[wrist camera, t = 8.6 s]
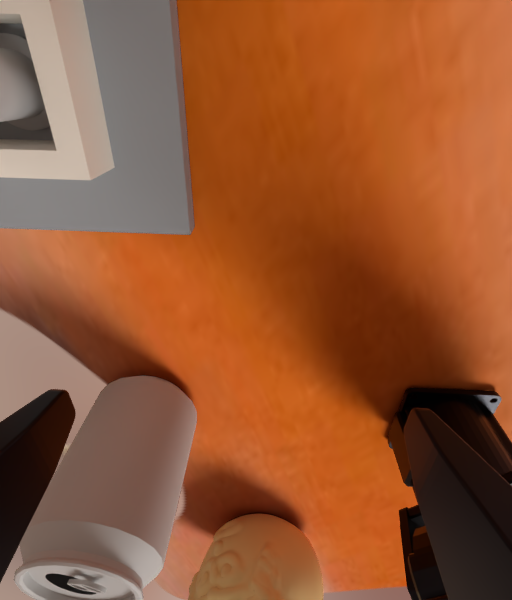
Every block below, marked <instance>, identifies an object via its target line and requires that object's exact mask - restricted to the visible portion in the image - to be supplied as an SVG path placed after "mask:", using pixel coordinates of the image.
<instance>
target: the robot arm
mask: <svg viewBox="0 0 512 600" xmlns="http://www.w3.org/2000/svg"><path fill="white" fill-rule="evenodd" d="M413 394H414V395H413ZM500 402H501V397H500V396H499V394H498V393H497V392H494V391H475V390H455V389H434V388H409V389H407V390H406V391H405V393H404V396H403V399H402V402H401V405H400V407H399V410H398V412H397V413H396V414H395V416H394V419H393V422H392V425H391V428H390V431H389V434H388V435H389V438H388V444H389V447H390V448H392V449H393V451H394V454H395V457H396V460H397V463H398V466H399V469H400V473H401V476H402V479H403V482H404V483H405V484H406V486H409V487H413V490H414V493H415V496H416V499H417V502H418V505H416V506H414V507H411V508H407V507H406V508H403V509H401V510H399V516H400V529H401V538H402V546H403V555H404V564H405V573H406V581H407V588H408V591H409V593H410V595H411V599H412V600H512V443H511V441H510V439H509V438H508V436H507V435H506V433H505V432H504V430H503V429H502V427H501V426H500V424H499V423H498V421H497V420H496V418H495V417H494V415H493V414H494V412H495V410H496V409H497V407H498V405H499V403H500ZM74 419H75V409H74V406H73V404H72V401H71V398H70V396H69V393H68V392H67V391H66V390H58V389H51V390H48V391H47V392H45V393H44V394H42V395H40V396H39V397H38V398H36V399H35V400H33V401H31V402H30V403H29V404H27V405H25V406H24V407H22V408H21V409H19V410H18V411H16V412H15V413H14V414H12V415H10V416H9V417H7V418H6V419H5V420H3V421H1V422H0V582H1V580H2V578H3V576H4V574H5V572H6V570H7V568H8V566H9V564H10V562H11V560H12V558H13V556H14V554H15V552H16V550H17V548H18V546H19V544H20V542H21V540H22V538H23V536H24V534H25V532H26V530H27V528H28V526H29V524H30V522H31V520H32V518H33V516H34V514H35V512H36V510H37V508H38V505H39V503H40V501H41V499H42V497H43V495H44V493H45V491H46V489H47V487H48V485H49V483H50V481H51V479H52V477H53V474H54V472H55V470H56V467H57V465H58V462H59V459H60V457H61V454H62V451H63V449H64V446H65V443H66V441H67V438H68V436H69V433H70V430H71V428H72V425H73V422H74Z"/></svg>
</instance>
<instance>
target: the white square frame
mask: <svg viewBox="0 0 512 600" xmlns="http://www.w3.org/2000/svg"><path fill="white" fill-rule="evenodd" d="M0 23H4V24H23V27H24V31H25V35H26V38H27V42H28V46H29V50H30V53H31V57H32V61H33V64H34V68H35V72H36V76H37V79H38V83H39V87H40V90H41V94H42V98H43V102H44V105H45V109H46V113H47V117H48V120H49V124H50V128H51V131H52V135H53V139H54V141H49V140H15V139H0V177H3V178H33V179H64V180H92V179H94V178H96V177H98V176H100V175H102V174H104V173H105V172H107V171H109V170H111V169H113V168H115V167H114V162H113V156H112V151H111V146H110V141H109V135H108V130H107V125H106V120H105V114H104V109H103V104H102V99H101V93H100V88H99V83H98V77H97V72H96V67H95V62H94V56H93V51H92V46H91V41H90V35H89V30H88V25H87V20H86V14H85V9H84V4H83V0H0Z"/></svg>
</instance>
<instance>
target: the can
mask: <svg viewBox="0 0 512 600" xmlns="http://www.w3.org/2000/svg"><path fill="white" fill-rule="evenodd" d="M196 423H197V411H196V409H195V407H194V405H193V402H192V401H191V400H190V399H189V398H188V397H187V396H186V395H185V393H184V392H183V391H181V390H180V389H179V388H178V387H177V386H175V385H174V384H172V383H171V382H169V381H167V380H164V379H161V378H158V377H154V376H145V375H141V376H133V377H125V378H120V379H118V380H115V381H113V382H111V383H109V384H108V385H107V386H106V387H105V388H104V389H103V390H102V391H101V392H100V394H99V396H98V398H97V400H96V401H95V403H94V405H93V407H92V409H91V410H90V412H89V414H88V416H87V417H86V419H85V421H84V423H83V424H82V426H81V428H80V430H79V432H78V433H77V435H76V437H75V439H74V440H73V442H72V444H71V446H70V447H69V449H68V451H67V453H66V455H65V456H64V458H63V460H62V462H61V463H60V465H59V467H58V469H57V471H56V472H55V474H54V476H53V478H52V479H51V481H50V483H49V485H48V487H47V489H46V491H45V493H44V495H43V497H42V499H41V501H40V503H39V505H38V508H37V510H36V512H35V514H34V516H33V518H32V520H31V522H30V524H29V526H28V528H27V530H26V532H25V534H24V536H23V538H22V540H21V542H20V544H19V545H20V549H21V554H22V559H23V565H22V566H21V567H19V568H18V569H17V570H16V571H15V576H14V581H15V583H16V584H17V586H18V587H19V589H20V590H21V591H22V592H24V593H25V594H27V595H28V596H30V597H31V598H33V599H36V600H143V592H142V589H143V588H144V587H145V586H146V585H147V584H149V583H150V582H151V581H152V580H153V579H154V578H155V577H156V576H158V574H159V573H160V571H161V570H162V569H163V566H164V562H165V557H166V553H167V549H168V544H169V540H170V536H171V531H172V527H173V523H174V518H175V514H176V509H177V505H178V501H179V497H180V493H181V488H182V484H183V480H184V475H185V471H186V467H187V462H188V458H189V454H190V449H191V445H192V441H193V436H194V432H195V428H196Z"/></svg>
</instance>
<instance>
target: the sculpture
mask: <svg viewBox="0 0 512 600" xmlns="http://www.w3.org/2000/svg"><path fill="white" fill-rule="evenodd" d="M188 600H323V579H322V573H321V569H320V565H319V562H318V559H317V556H316V553H315V551H314V549H313V547H312V545H311V543H310V541H309V540H308V538H307V537H306V536H305V535H304V534H303V532H301V531H300V530H299V529H298V528H297V527H296V526H294V525H293V524H291V523H289V522H287V521H286V520H283V519H281V518H279V517H276V516H273V515H269V514H249V515H244V516H240V517H238V518H235V519H233V520H231V521H229V522H227V523H226V524H224V525H223V526H222V527H221V528H219V529H218V530H217V532H216V533H215V535H214V538H213V542H212V544H211V546H210V547H209V549H208V551H207V554H206V556H205V558H204V560H203V562H202V565H201V567H200V570H199V571H198V572H197V573H196V574H195V575H194V577H193V580H192V583H191V585H190V587H189V597H188Z"/></svg>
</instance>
